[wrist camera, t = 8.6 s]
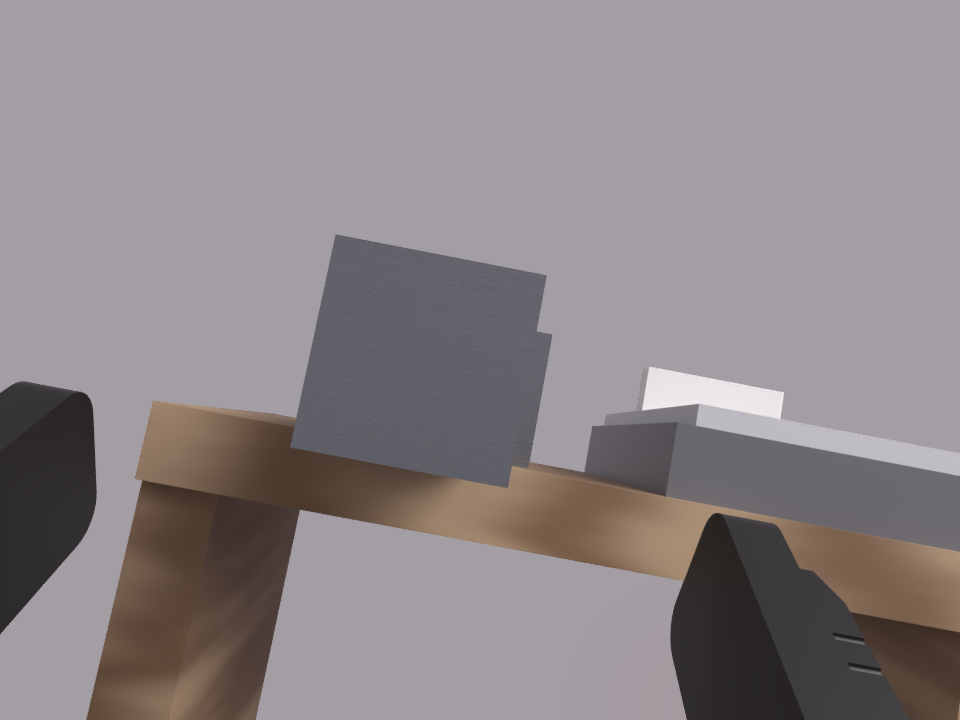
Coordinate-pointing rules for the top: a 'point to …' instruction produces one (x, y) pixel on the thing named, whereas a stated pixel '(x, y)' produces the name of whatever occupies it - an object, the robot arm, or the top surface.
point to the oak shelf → (445, 512)
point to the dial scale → (775, 462)
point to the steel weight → (424, 363)
